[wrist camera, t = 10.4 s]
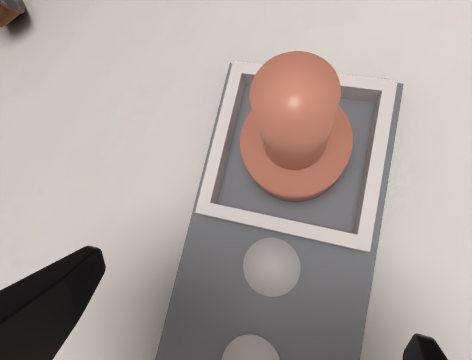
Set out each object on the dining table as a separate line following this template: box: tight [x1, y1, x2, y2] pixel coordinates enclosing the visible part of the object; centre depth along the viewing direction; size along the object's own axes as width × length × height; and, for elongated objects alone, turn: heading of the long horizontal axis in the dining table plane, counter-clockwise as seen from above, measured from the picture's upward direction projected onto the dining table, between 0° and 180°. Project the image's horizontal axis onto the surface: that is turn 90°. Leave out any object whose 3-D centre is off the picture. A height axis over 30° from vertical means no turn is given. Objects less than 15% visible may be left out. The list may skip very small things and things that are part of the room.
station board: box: [155, 61, 403, 360], centre depth 21 cm, size 24×12×3 cm, turn 167°
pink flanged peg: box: [240, 51, 353, 202], centre depth 18 cm, size 6×6×9 cm
